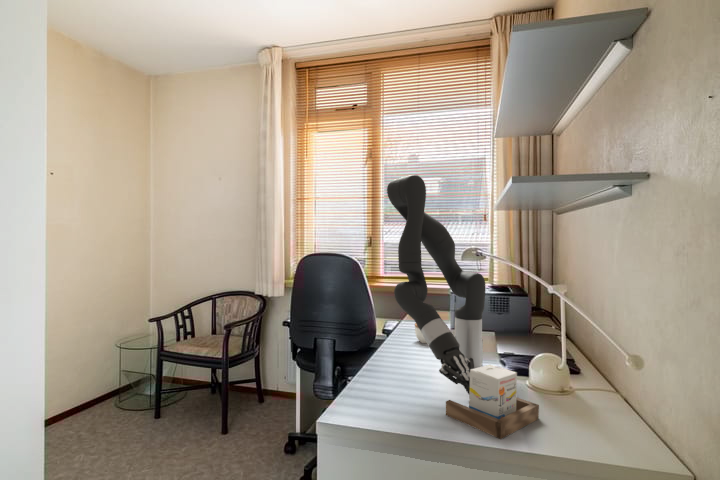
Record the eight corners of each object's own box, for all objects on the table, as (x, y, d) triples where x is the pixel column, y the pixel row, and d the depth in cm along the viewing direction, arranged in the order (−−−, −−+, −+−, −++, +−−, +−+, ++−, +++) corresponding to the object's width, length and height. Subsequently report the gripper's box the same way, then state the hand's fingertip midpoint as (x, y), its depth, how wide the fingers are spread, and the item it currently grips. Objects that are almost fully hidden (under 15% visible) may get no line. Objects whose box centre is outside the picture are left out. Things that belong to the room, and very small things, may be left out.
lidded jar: (432, 338, 182) (432, 317, 182) (443, 344, 172) (444, 322, 172) (410, 339, 179) (410, 318, 179) (420, 345, 169) (420, 323, 169)
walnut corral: (484, 399, 113) (484, 386, 113) (538, 418, 100) (538, 404, 100) (445, 415, 102) (445, 401, 102) (500, 439, 90) (501, 423, 90)
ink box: (497, 427, 95) (498, 378, 95) (467, 415, 102) (468, 369, 102) (517, 418, 101) (518, 371, 101) (488, 407, 107) (489, 363, 107)
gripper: (431, 334, 108) (469, 394, 99) (462, 328, 116) (499, 382, 107) (416, 349, 112) (451, 408, 103) (447, 342, 120) (481, 396, 111)
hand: (475, 395), depth 105 cm, fingers closed
